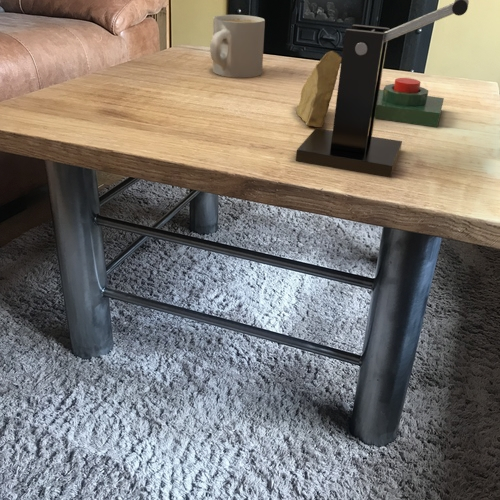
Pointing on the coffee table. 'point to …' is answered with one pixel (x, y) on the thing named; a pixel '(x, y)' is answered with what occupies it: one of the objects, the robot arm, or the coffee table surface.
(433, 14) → the knife lever
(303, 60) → the coffee table surface
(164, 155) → the coffee table surface
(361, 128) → the cutter
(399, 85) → the button
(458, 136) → the coffee table surface
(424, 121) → the block
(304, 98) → the rock
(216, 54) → the coffee mug
